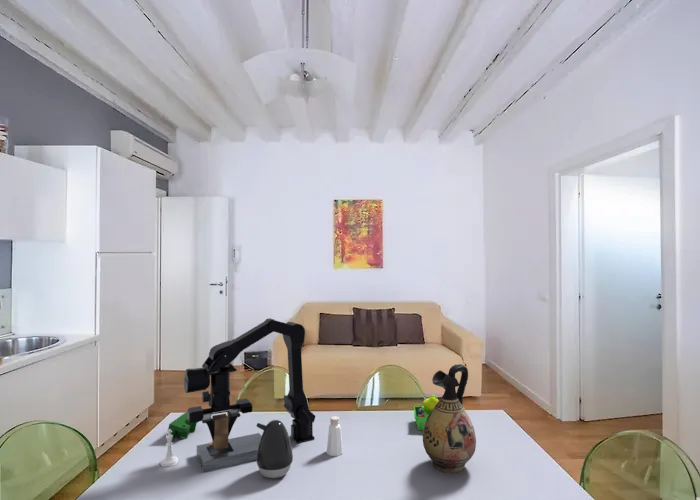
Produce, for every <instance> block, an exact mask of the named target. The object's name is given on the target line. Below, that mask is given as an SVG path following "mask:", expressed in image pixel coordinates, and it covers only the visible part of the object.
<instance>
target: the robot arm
mask: <svg viewBox="0 0 700 500" xmlns="http://www.w3.org/2000/svg"><path fill="white" fill-rule="evenodd" d="M272 333H278V334H281V335H282V339H283V341H284V345H285V347H286V349H287V365H288V368H287V369H288V383H289V384H288V385H289V389H288V390H289V391H288V393H287V395H283V401H284V403H283V404H284V405H283V407H284V409H285V411H286V412H287V413H288V414H289V415H290V417H291V418H293V419H292V422H291V423H292V424H291V425H290V437H291V438H292V439H293V440H294V442H295V443H303V442H306V441H307V442H308V441H311V440H315V436H314V435H313V427H314V425H313V423H314V422H315V419H316V415H315V414H314V413H313V411H310V407H309V402H308V399H307V396H306V394H305V391H304V380H303V361H302V359H303V358H302V348H303V346H304V342H305V336H306V330H305V327H304V326H303V324H300V323H297V322H294V321H288V322H287V321H286V322H282V321H278V320H276V319H274V318H271V317H270V318H266V319H265V320H264V321H263V322H261V323H259V324H257V325H256V326H254V327H252V328H250V329H249V330H248V331H246V332H244V333H242V334H240V335H239V336H237V337H236V338H233V339H231V340H227V341H224V342H221V343H219V344H216V345H213V346H212V347H211V348H210V349H209V353H208V357H207V358H206V360H205V361H204V362H203V364H202V365H201V367H197V368H187V369H185V374H184V379H183V389H184V392H185V394H188V393H190V394H191V393H196V392H201V391H202V392H201V402H202V403H208V407H209V408H202V406H201V405H199V406H198V405H197V406H192V407H189V408H188V409H187V410H186V412H187V418H188V420H189V423H194V422H198V423H199V422H201V423H202V424H206V425H207V427H208V428H207V429H208V432H209V435H210V436H211V437H210V438H211V440H214V427H213V419H212V416H213V415H219V414H224V413H227V414H226V415H227V417H228V438H229V436H230V434H231V431H232V429H233V426H234V425H235V423H236V421H237V419H238V418H240V417H241V413H242V414H248V413H249V414H250V413H252V412H253V403H252V402H251V401H250V400H249V398H246V397H245V398H241V399H236V400H235V403H231V384H230V383H231V373H233V372H237V370H238V369H237V368H236V367H234V366H233V364H232V362H233V361H235V359H237V357H238V356H239V355H240V354H241V352H243V351H244V350H246V349H248V348H249V347H250V346H253V345H255V343H257V342H259V341H260V340H262V339H264V338H265V337H267V336H269V335H271V334H272ZM209 387H210V391H209V390H207V389H208V388H209ZM206 390H207V391H206Z"/></svg>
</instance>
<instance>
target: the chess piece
mask: <svg viewBox="0 0 700 500" xmlns="http://www.w3.org/2000/svg"><path fill="white" fill-rule="evenodd" d="M171 432H172V430H171V429H169V430H168V429H167V432H166V436H165V438H166V443H165V446H166V447H167V449H166V456H165V457H164V458H162V459H161V461H160V466H162V467H165V468H167V467H172V466H175V465H177V464H178V463H179V458H178V457H177V456H174V455H173V451H172V446H173V445H174V442H172V441H173V440H172V438H173V435H171ZM167 434H168V435H167Z"/></svg>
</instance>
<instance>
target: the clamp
mask: <svg viewBox="0 0 700 500" xmlns="http://www.w3.org/2000/svg"><path fill="white" fill-rule="evenodd" d="M197 424H199V422H194V423H189V420H188V418H187V411H185V412H184V413H183V414H182V415H180V416H178V417H177V418H175V419H174V420H173V421H171V422H170V423H169V424H168V428H167V431H168V430H169V429H171V430H172V432H171V435H173V438H172V441H174V440H175V439H177V438H178V437H180V438H183V439H188V437H189V434H190V433H189V432H192V433H195V431H196V428H197ZM167 435H168V434H167V433H166V436H167Z"/></svg>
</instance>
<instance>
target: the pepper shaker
mask: <svg viewBox="0 0 700 500" xmlns="http://www.w3.org/2000/svg"><path fill="white" fill-rule="evenodd" d="M329 420H330V424H329V426H328V433H327V434H328V435H327V444H326V445H327V446H326V455H328V456H330V457H338V456H341V455H343V451H344V450H343V449H344V448H343V440H342V439H343V438H342V428H341V424H340V418H339V416H335V415H334V416H331V417H330V418H329Z"/></svg>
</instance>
